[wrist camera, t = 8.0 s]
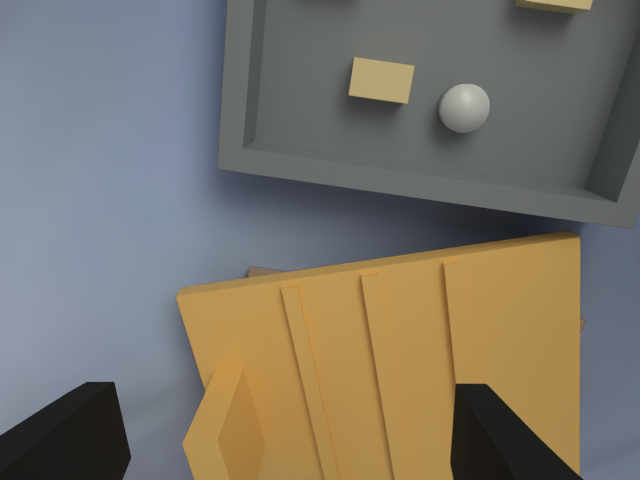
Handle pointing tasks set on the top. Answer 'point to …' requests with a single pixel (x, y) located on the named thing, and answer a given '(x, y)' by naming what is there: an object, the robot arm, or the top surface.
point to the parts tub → (441, 100)
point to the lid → (383, 360)
